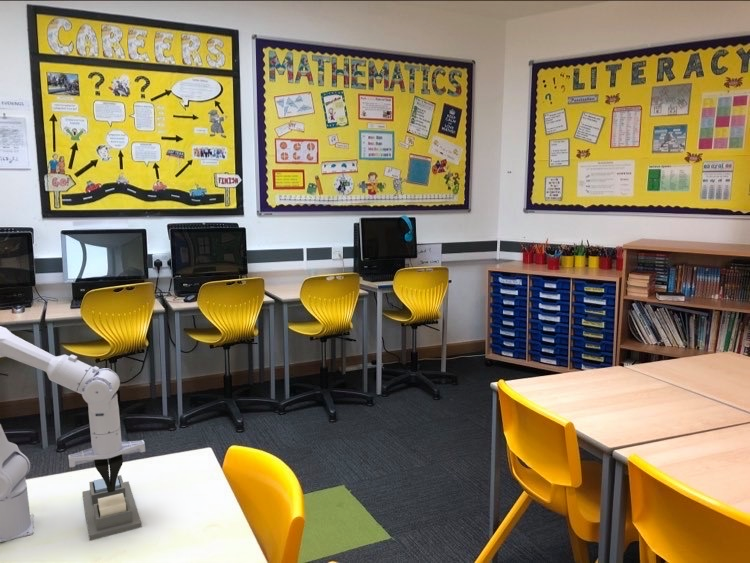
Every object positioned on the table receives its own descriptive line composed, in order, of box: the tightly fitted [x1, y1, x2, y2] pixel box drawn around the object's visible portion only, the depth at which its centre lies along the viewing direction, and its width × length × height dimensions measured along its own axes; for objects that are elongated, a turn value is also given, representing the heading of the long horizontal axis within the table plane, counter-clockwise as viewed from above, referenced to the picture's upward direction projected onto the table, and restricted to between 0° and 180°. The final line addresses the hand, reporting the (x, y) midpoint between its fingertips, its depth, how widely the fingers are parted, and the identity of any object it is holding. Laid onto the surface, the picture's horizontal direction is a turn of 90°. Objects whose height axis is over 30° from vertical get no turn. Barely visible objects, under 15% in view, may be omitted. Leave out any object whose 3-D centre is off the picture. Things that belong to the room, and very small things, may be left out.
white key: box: [98, 493, 126, 517], centre depth 131 cm, size 5×5×2 cm
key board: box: [82, 474, 143, 541], centre depth 136 cm, size 10×20×4 cm, turn 28°
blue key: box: [93, 475, 120, 493], centre depth 141 cm, size 5×5×2 cm
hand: (111, 489), depth 130 cm, fingers closed
